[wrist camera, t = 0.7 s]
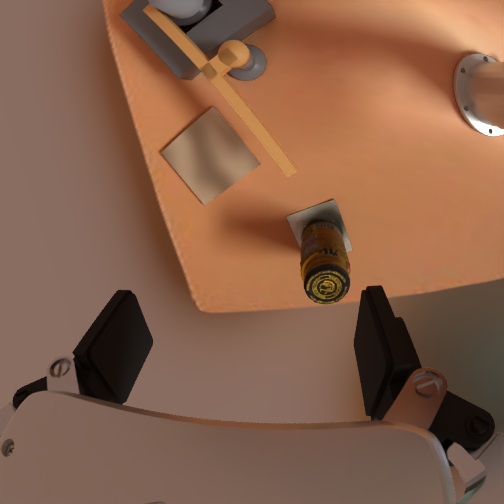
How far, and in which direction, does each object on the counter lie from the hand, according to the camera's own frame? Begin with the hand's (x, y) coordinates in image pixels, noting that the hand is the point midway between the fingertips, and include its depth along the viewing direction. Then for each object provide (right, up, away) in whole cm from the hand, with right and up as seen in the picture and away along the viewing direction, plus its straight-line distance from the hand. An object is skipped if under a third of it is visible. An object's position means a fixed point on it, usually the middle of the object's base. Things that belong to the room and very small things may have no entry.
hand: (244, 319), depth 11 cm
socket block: (-5, +32, +17) cm, 36 cm away
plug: (-6, +34, +17) cm, 38 cm away
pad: (-5, +16, +27) cm, 31 cm away
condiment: (+10, +5, +30) cm, 32 cm away
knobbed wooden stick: (-2, +22, +15) cm, 27 cm away
